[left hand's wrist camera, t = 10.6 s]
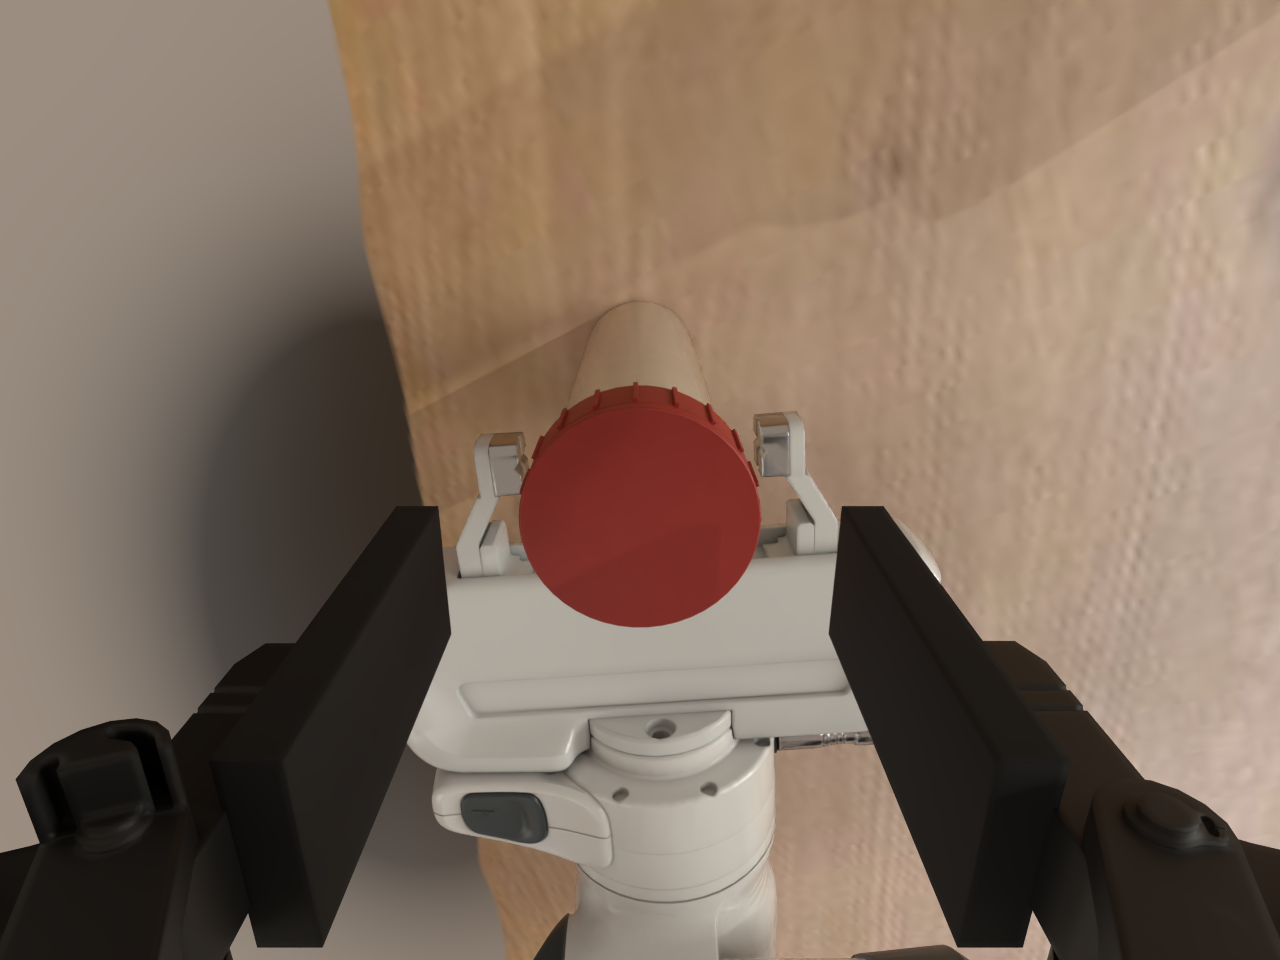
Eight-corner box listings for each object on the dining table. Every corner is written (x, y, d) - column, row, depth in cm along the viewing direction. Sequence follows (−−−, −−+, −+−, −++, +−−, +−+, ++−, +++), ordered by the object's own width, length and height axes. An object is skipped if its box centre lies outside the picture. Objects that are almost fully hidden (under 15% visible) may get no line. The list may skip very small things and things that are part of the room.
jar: (702, 395, 32) (755, 585, 17) (599, 416, 33) (565, 619, 18) (683, 290, 31) (723, 399, 16) (575, 313, 31) (515, 440, 16)
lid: (767, 569, 19) (780, 609, 17) (557, 606, 19) (549, 649, 18) (734, 360, 17) (744, 381, 15) (501, 407, 17) (486, 432, 16)
